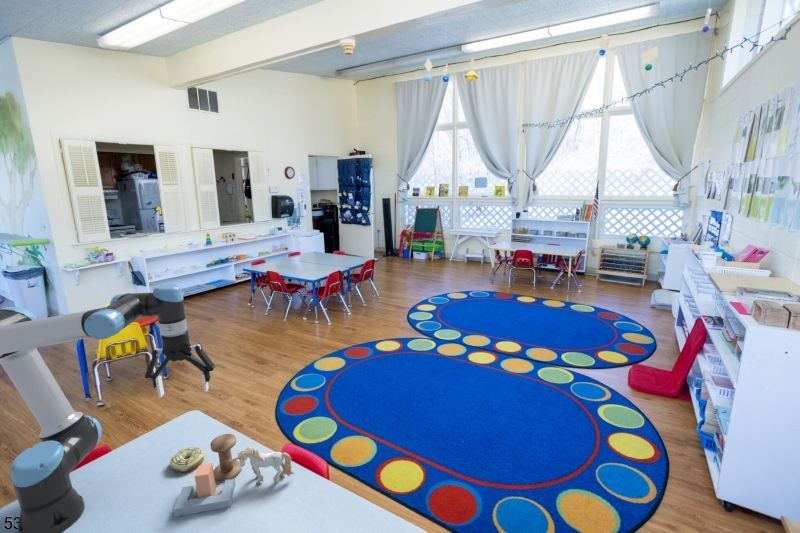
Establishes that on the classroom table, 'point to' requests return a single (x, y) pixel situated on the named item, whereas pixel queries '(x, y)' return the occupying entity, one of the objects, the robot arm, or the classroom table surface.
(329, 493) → the classroom table surface
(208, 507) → the u-shaped block
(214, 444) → the bobbin
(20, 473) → the robot arm
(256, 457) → the unicorn figurine
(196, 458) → the decorated donut
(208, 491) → the tab
